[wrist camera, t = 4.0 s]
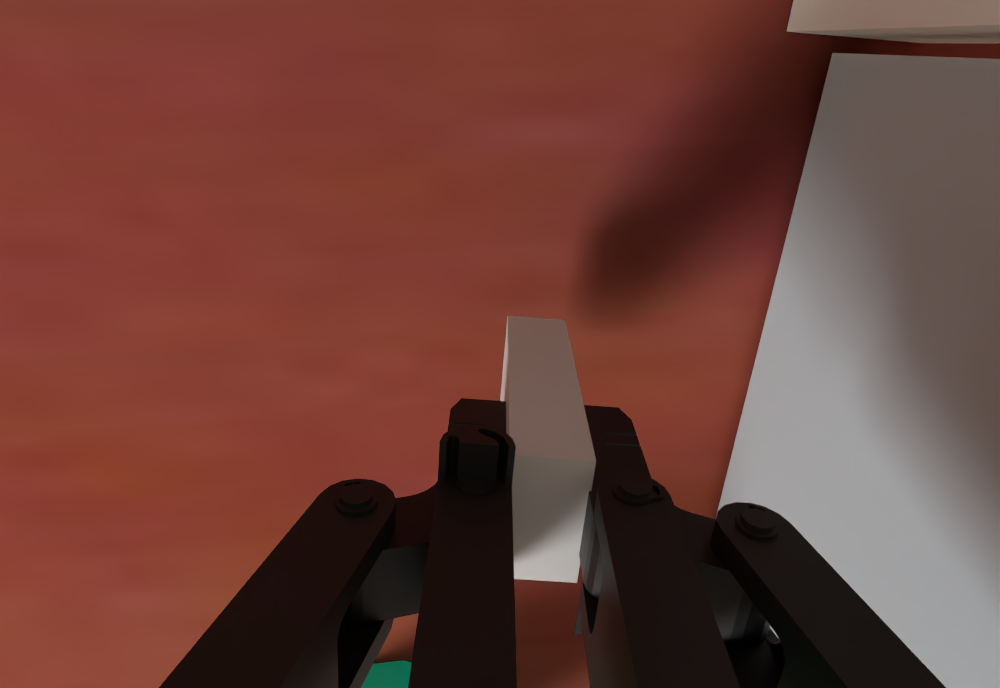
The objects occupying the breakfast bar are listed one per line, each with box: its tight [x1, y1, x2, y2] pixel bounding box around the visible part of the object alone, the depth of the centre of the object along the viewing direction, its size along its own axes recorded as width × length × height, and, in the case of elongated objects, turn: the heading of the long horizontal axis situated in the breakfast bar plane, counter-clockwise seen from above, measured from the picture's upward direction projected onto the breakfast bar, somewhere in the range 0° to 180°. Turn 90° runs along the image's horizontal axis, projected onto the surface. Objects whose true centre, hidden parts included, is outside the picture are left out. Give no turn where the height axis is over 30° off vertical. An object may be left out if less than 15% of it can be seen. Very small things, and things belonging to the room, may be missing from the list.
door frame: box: [786, 0, 1000, 44], centre depth 14 cm, size 25×4×14 cm, turn 176°
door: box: [715, 53, 1000, 688], centre depth 15 cm, size 16×3×12 cm, turn 176°
